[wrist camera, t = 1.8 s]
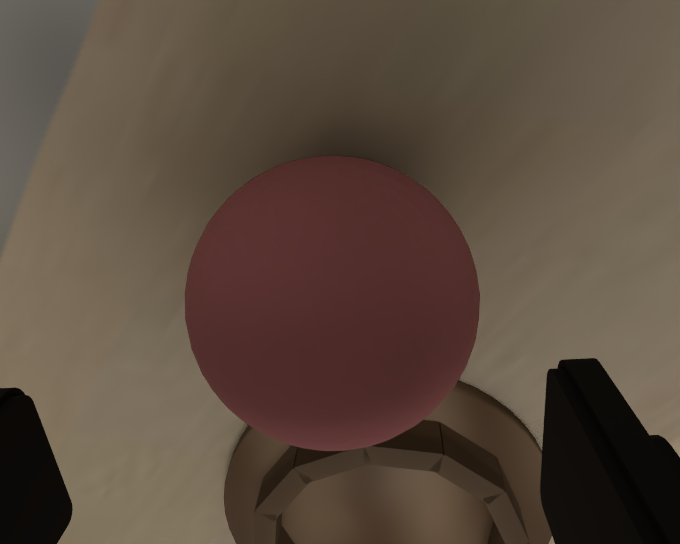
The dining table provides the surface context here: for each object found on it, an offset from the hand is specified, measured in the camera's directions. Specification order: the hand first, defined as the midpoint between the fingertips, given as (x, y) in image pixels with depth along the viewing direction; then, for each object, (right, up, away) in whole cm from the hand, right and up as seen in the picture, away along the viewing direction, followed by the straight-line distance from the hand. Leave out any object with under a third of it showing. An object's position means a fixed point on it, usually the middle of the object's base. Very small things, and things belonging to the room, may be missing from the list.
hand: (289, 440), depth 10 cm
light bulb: (+1, +6, +12) cm, 13 cm away
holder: (+3, -8, +18) cm, 20 cm away
